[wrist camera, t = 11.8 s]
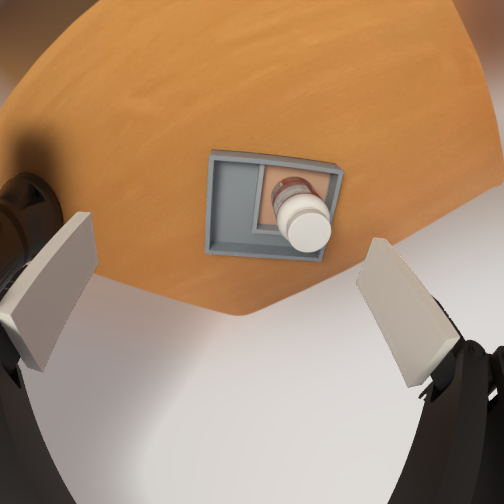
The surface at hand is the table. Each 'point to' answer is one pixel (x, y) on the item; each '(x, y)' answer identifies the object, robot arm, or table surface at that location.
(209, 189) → the walled box
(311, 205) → the pill bottle
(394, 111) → the table surface
